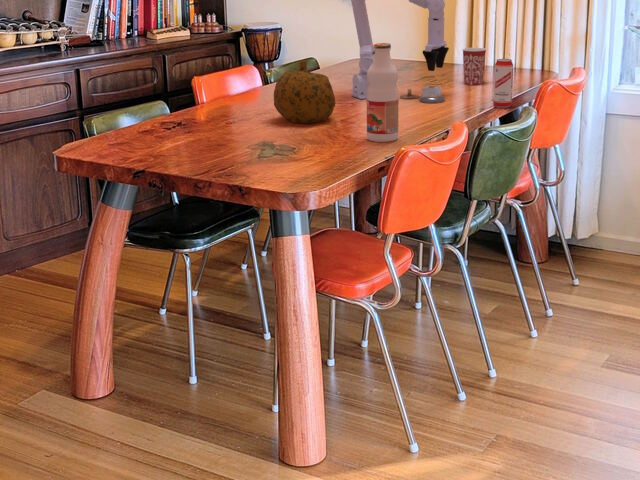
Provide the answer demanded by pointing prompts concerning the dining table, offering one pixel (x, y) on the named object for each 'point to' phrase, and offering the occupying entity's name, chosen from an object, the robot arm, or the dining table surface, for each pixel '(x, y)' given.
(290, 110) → the decorative pumpkin
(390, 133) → the fruit juice
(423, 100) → the hub
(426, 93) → the square tube sleeve
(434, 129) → the dining table surface
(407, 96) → the stand
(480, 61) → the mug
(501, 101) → the beer can
